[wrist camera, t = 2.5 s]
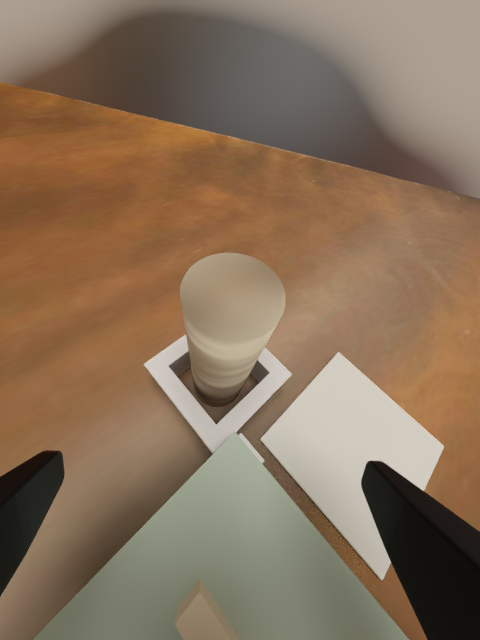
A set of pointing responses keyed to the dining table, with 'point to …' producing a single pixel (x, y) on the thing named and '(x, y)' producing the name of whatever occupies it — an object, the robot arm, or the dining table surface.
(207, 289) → the beige cylinder
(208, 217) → the dining table surface
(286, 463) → the mat
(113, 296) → the dining table surface
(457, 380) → the dining table surface
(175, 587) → the pale green box
